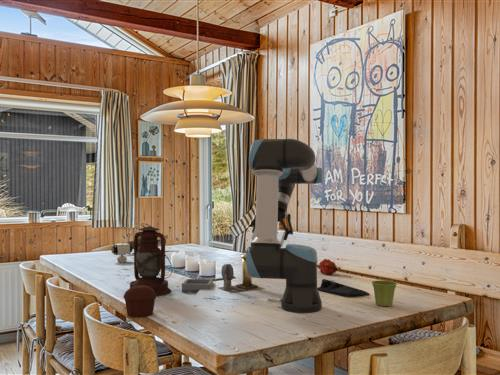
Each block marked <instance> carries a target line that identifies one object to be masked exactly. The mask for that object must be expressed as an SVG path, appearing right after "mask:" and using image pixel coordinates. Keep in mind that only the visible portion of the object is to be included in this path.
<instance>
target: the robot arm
mask: <svg viewBox="0 0 500 375" xmlns="http://www.w3.org/2000/svg"><path fill="white" fill-rule="evenodd" d="M248 166H249V169H250V170H252V172H253V175H254V176H256V195H255V217H254V219H253V220H252V221H251V222H250V225H251V226H252V230H251V233H252V236H251V239H252V240H251V242H250V246H248V247H246V249H245V255H246V265H247V270H248V273H249V275H250V276H251V277H252V278H254V279H262V280H263V279H267V280H268V279H270V280H272V279H273V280H274V279H275V280H285V289H284V291H283V292H284V293H283V296H282V299H281V308H282V310H284V311H288V312H292V313H293V312H294V313H315V312H319V311H321V310H322V309H323V308H322V307H323V304H322V303H323V302H322V299H321V296H320V293H319V290H318V289H317V288H318V263H319V262H318V253H317V250H316V249H315V248H313V247H310V246H307V245H302V244H294V243H293V244H292V243H289V244H286V246H285V247H283V245H284V243H285V241H287V240H288V236H290V235H293V234H294V231H293V226H292V222H291V219H292V215H291V213H288V214H286V213H287V211H288V210H287V209H288V207H289V204H290V201H291V198H292V194H293V192H294V189H295V187H296V186H295V185H296V184H297V185H300V184H301V185H305V184H307V185H308V184H309V185H317V184H318V185H319V184H322V183H323V181H324V180H323V178H324V173H323V172H324V170H323V168H322V167H317V166H316V154H315V151H314V150H313V148H312V147H311V146H310V145H308V144H307V143H306V142H303V141H301V140H299V139H295V138H264V139H256V140H253V142H252V143H251V146H250V150H249V155H248ZM284 219H286V220H287V224H288V227H287V226H286V223H285V222H284ZM278 223H280V225H281V227H282V228H283V230H284V231H283V233H282V236H281V239H280V240H279V239H278ZM288 228H289V229H288Z"/></svg>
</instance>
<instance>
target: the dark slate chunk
mask: <svg viewBox="0 0 500 375" xmlns="http://www.w3.org/2000/svg"><path fill="white" fill-rule="evenodd" d="M317 289H318V291H320V292H324V293H328V294H332V295H336V296H340V297H346V296H347V298H349V296H350V297H363V296H362V295H367V296H370V295H369V294H370V292H367V291H365V290H363V289H359V288H356V287H353V286H349V285H346V284H343V283H339V282H336V281H332V280H330V279H326V278H323V279H321V282H320V286H318V287H317Z"/></svg>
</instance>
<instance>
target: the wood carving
mask: <svg viewBox="0 0 500 375" xmlns="http://www.w3.org/2000/svg"><path fill="white" fill-rule="evenodd" d="M164 237H165V239H166V241H167V240H168V237H169V235H168V234H165V235H164ZM157 239H158V238H157ZM138 240H141V237H138ZM158 240H160V241H158V246H159V245H160V246H161V239H160V238H159V239H158ZM124 243H129V244H130V245H132V248H133V250H134V240H131V241H126V242H123V244H124ZM138 243H139V244H140V242H139V241H138ZM139 244H138V249H139V248H140V245H139Z"/></svg>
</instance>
